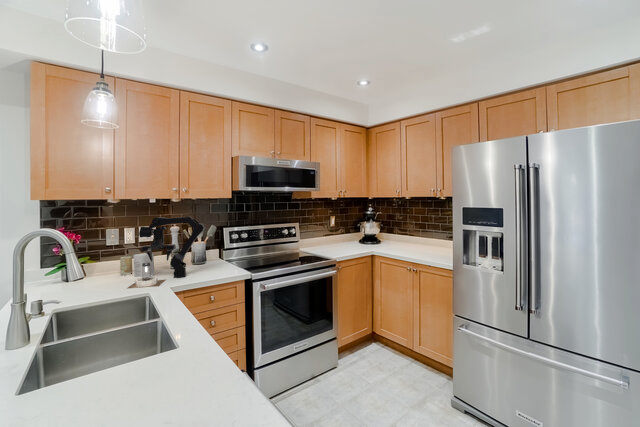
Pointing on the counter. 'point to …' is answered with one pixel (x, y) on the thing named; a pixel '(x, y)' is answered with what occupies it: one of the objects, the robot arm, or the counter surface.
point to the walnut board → (147, 286)
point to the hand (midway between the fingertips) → (159, 261)
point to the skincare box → (125, 265)
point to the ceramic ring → (146, 282)
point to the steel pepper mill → (146, 271)
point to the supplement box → (138, 263)
